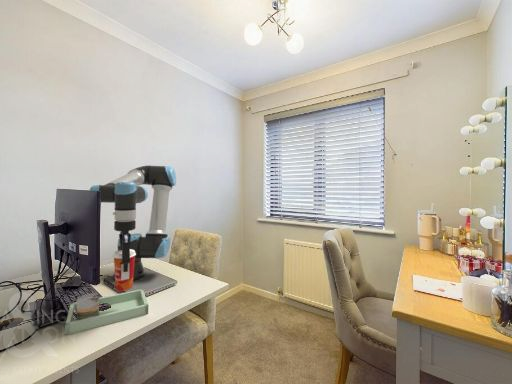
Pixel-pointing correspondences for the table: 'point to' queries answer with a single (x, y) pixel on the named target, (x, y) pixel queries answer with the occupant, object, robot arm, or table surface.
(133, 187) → the robot arm
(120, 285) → the coffee cup
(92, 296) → the translucent rounded dome
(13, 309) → the table surface
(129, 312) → the tray
